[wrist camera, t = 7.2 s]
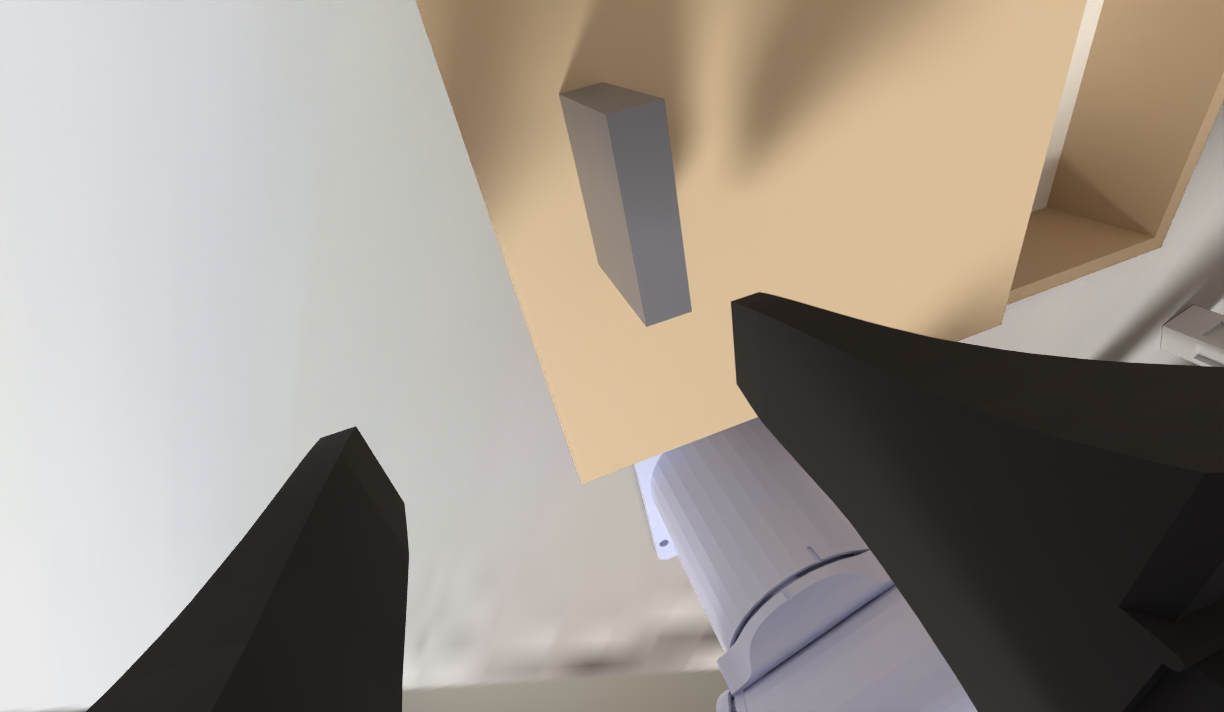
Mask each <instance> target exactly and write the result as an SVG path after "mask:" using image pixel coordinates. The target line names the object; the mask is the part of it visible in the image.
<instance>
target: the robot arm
mask: <svg viewBox="0 0 1224 712" xmlns="http://www.w3.org/2000/svg"><path fill="white" fill-rule="evenodd" d="M731 312H732V327H733V341H734V355H735V369H736V384H737V386H738V387H739V389H740V390H741V392H742V393H743V395H744V396H745V398H746V400H747V401H748V403H749V404H750V406H751V407H752V409H753V410H754V411H755V413H756V414H757V416H758V417H757V418H754V419H751V420H749V421H746V422H743V423H741V424H738V425H736V426H733V427H730V428H728V429H725V430H722V431H720V432H717V433H715V434H712V435H709V436H707V437H704V438H701V439H699V440H696V441H693V442H691V443H688V444H686V445H683V446H680V447H678V448H675V449H672V450H670V451H667V452H665V453H662V454H659V455H657V456H654V457H651V458H649V459H646V460H643V461H641V462H638V463H636V464H634V467H635V471H636V475H637V479H638V483H639V487H640V491H641V495H642V499H643V503H644V507H645V511H646V515H647V519H648V523H649V527H650V531H651V535H652V539H653V543H654V547H655V551H656V554H657V556H658V558H659V559H661V560H666V559H669V558H672V557H674V556H678V558H679V560H680V562H681V564H682V566H683V568H684V570H685V572H686V574H687V576H688V579H689V581H690V583H691V585H692V587H693V589H694V591H695V593H696V595H697V597H698V599H699V601H700V603H701V605H702V607H703V609H704V611H705V613H706V615H707V618H708V620H709V622H710V624H711V626H712V628H713V630H714V632H715V634H716V636H717V638H718V640H719V642H720V644H721V646H722V647H723V649H724V651H725V652H726V653H725V654H724V655H723V656H721V657H720V658H719V659H718V660H717V664H718V666H719V668H720V670H721V672H722V674H723V677H724V679H725V681H726V683H727V685H728V687H729V689H728V690H726V691H725V692H723V693H722V694H721V695H720V696H719V698H718V701H717V706H716V712H1224V367H1213V366H1186V365H1165V364H1145V363H1127V362H1114V361H1100V360H1088V359H1078V358H1069V357H1059V356H1050V355H1040V354H1031V353H1024V352H1016V351H1009V350H1002V349H996V348H990V347H984V346H978V345H972V344H966V343H960V342H954V341H949V340H944V339H939V338H934V337H929V336H925V335H920V334H916V333H912V332H908V331H903V330H899V329H895V328H890V327H887V326H883V325H879V324H875V323H871V322H867V321H864V320H860V319H857V318H853V317H849V316H846V315H842V314H839V313H835V312H832V311H829V310H825V309H822V308H818V307H815V306H811V305H808V304H805V303H801V302H798V301H794V300H791V299H787V298H783V297H780V296H776V295H772V294H767V293H762V292H758V293H755V294H752V295H749V296H746V297H743V298H740V299H737V300H734V301H731ZM408 564H409V549H408V536H407V525H406V515H405V506H404V502H403V500H402V499H401V497H400V496H399V494H398V492H397V491H396V489H395V488H394V486H393V484H392V483H391V481H390V480H389V478H388V477H387V475H386V473H385V472H384V470H383V469H382V467H381V465H380V464H379V462H378V461H377V459H376V457H375V456H374V454H373V453H372V451H371V449H370V448H369V446H368V445H367V443H366V441H365V440H364V438H363V437H362V435H361V433H360V432H359V430H358V429H357V427H353V428H350V429H347V430H344V431H341V432H338V433H335V434H332V435H329V436H326V437H323V438H320V439H319V441H318V442H317V443H316V444H315V445H314V446H313V447H312V449H311V450H310V451H309V452H308V454H307V455H306V456H305V457H304V459H303V460H302V461H301V463H300V464H299V465H298V467H297V468H296V469H295V471H294V472H293V473H292V475H291V476H290V477H289V478H288V480H287V481H286V482H285V484H284V485H283V487H282V488H281V489H280V491H279V492H278V493H277V494H276V496H275V497H274V498H273V500H272V501H271V502H270V504H269V505H268V506H267V508H266V509H265V510H264V512H263V513H262V514H261V515H260V517H259V518H258V519H257V521H256V522H255V523H254V525H253V526H252V527H251V529H250V530H249V531H248V533H247V534H246V535H245V536H244V538H243V539H242V540H241V541H240V543H239V544H238V545H237V546H236V547H235V549H234V550H233V551H232V552H231V554H230V555H229V556H228V557H227V558H226V560H225V561H224V562H223V563H222V564H221V566H220V567H219V568H218V569H217V571H216V572H215V573H214V574H213V575H212V577H211V578H210V579H209V580H208V581H207V583H206V584H205V585H204V586H203V588H202V589H201V590H200V591H199V592H198V594H197V595H196V596H195V597H194V598H193V600H192V601H191V602H190V603H189V604H188V605H187V606H186V608H185V609H184V610H183V611H182V612H181V613H180V614H179V616H178V617H177V618H176V619H175V620H174V621H173V622H172V623H171V624H170V626H169V627H168V628H167V629H166V630H165V631H164V632H163V633H162V634H161V636H160V637H159V638H158V639H157V640H156V641H155V642H154V643H153V644H152V645H151V646H150V647H149V648H148V649H147V650H146V651H145V652H144V654H143V655H142V656H141V657H140V658H139V659H138V660H137V661H136V662H135V663H134V664H133V665H132V666H131V667H130V668H129V669H128V670H127V671H126V673H125V674H124V675H123V676H122V677H121V678H120V679H119V680H118V681H117V682H116V683H115V684H114V685H113V686H112V687H111V688H110V689H109V690H108V691H107V692H106V693H105V694H104V695H103V696H102V697H101V698H100V699H99V700H98V701H97V702H96V703H94V704H93V705H92V706H91V707H90V708H89V709H88V710H87V711H86V712H402V677H403V659H404V641H405V623H406V606H407V586H408Z"/></svg>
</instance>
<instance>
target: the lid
mask: <svg viewBox="0 0 1224 712" xmlns="http://www.w3.org/2000/svg"><path fill="white" fill-rule="evenodd" d="M1086 2H1087V0H416V3H417V6H418V9H419V12H420V15H421V18H422V21H423V24H424V27H425V30H426V32H427V35H428V38H429V41H430V44H431V47H432V50H433V53H434V56H435V59H436V62H437V65H438V67H439V70H440V73H441V76H442V79H443V82H444V85H445V88H446V91H447V94H448V97H449V100H450V103H451V105H452V108H453V111H454V114H455V117H456V120H457V123H458V126H459V129H460V132H461V135H462V138H463V140H464V143H465V146H466V149H467V152H468V155H469V158H470V161H471V164H472V167H473V170H474V173H475V175H476V178H477V181H478V184H479V187H480V190H481V193H482V196H483V199H484V202H485V205H486V208H487V210H488V213H489V216H490V219H491V222H492V225H493V228H494V231H495V234H496V237H497V240H498V243H499V245H500V248H501V251H502V254H503V257H504V260H505V263H506V266H507V269H508V272H509V275H510V278H511V280H512V283H513V286H514V289H515V292H516V295H517V298H518V301H519V304H520V307H521V310H522V313H523V315H524V318H525V321H526V324H527V327H528V330H529V333H530V336H531V339H532V342H533V345H534V348H535V350H536V353H537V356H538V359H539V362H540V365H541V368H542V371H543V374H544V377H545V380H546V383H547V385H548V388H549V391H550V394H551V397H552V400H553V403H554V406H555V409H556V412H557V415H558V418H559V420H560V423H561V426H562V429H563V432H564V435H565V438H566V441H567V444H568V447H569V450H570V453H571V455H572V458H573V461H574V464H575V467H576V470H577V473H578V476H579V479H580V481H581V484H583V483H586V482H588V481H591V480H593V479H596V478H599V477H601V476H604V475H607V474H609V473H612V472H615V471H617V470H620V469H622V468H625V467H628V466H630V465H633V464H636V463H638V462H641V461H643V460H646V459H649V458H651V457H654V456H657V455H659V454H662V453H665V452H667V451H670V450H672V449H675V448H678V447H680V446H683V445H686V444H688V443H691V442H693V441H696V440H699V439H701V438H704V437H707V436H709V435H712V434H715V433H717V432H720V431H722V430H725V429H728V428H730V427H733V426H736V425H738V424H741V423H743V422H746V421H749V420H751V419H754V418H757V417H758V416H757V414H756V413H755V411H754V410H753V409H752V407H751V406H750V404H749V403H748V401H747V400H746V398H745V396H744V395H743V393H742V392H741V390H740V389H739V387H738V386H737V384H736V369H735V355H734V341H733V327H732V312H731V301H734V300H737V299H740V298H743V297H746V296H749V295H752V294H755V293H758V292H762V293H767V294H772V295H776V296H780V297H783V298H787V299H791V300H794V301H798V302H801V303H805V304H808V305H811V306H815V307H818V308H822V309H825V310H829V311H832V312H835V313H839V314H842V315H846V316H849V317H853V318H857V319H860V320H864V321H867V322H871V323H875V324H879V325H883V326H887V327H890V328H895V329H899V330H903V331H908V332H912V333H916V334H920V335H925V336H929V337H934V338H939V339H944V340H949V341H954V342H957V341H959V340H962V339H965V338H967V337H970V336H972V335H975V334H978V333H980V332H983V331H986V330H988V329H991V328H994V327H996V326H999V325H1001V324H1002V320H1003V316H1004V312H1005V309H1006V305H1007V301H1008V297H1009V293H1010V290H1011V286H1012V282H1013V278H1014V275H1015V271H1016V267H1017V263H1018V259H1019V256H1020V252H1021V248H1022V244H1023V240H1024V237H1025V233H1026V229H1027V225H1028V222H1029V218H1030V214H1031V210H1032V206H1033V203H1034V199H1035V195H1036V191H1037V187H1038V184H1039V180H1040V176H1041V172H1042V169H1043V165H1044V161H1045V157H1046V153H1047V150H1048V146H1049V142H1050V138H1051V135H1052V131H1053V127H1054V123H1055V119H1056V116H1057V112H1058V108H1059V104H1060V100H1061V97H1062V93H1063V89H1064V85H1065V82H1066V78H1067V74H1068V70H1069V66H1070V63H1071V59H1072V55H1073V51H1074V48H1075V44H1076V40H1077V36H1078V32H1079V29H1080V25H1081V21H1082V17H1083V13H1084V10H1085V6H1086Z"/></svg>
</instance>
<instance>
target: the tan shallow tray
mask: <svg viewBox="0 0 1224 712" xmlns="http://www.w3.org/2000/svg"><path fill="white" fill-rule="evenodd" d="M1223 101H1224V0H1087V2H1086V6H1085V10H1084V13H1083V17H1082V21H1081V25H1080V29H1079V32H1078V36H1077V40H1076V44H1075V48H1074V51H1073V55H1072V59H1071V63H1070V66H1069V70H1068V74H1067V78H1066V82H1065V85H1064V89H1063V93H1062V97H1061V100H1060V104H1059V108H1058V112H1057V116H1056V119H1055V123H1054V127H1053V131H1052V135H1051V138H1050V142H1049V146H1048V150H1047V153H1046V157H1045V161H1044V165H1043V169H1042V172H1041V176H1040V180H1039V184H1038V187H1037V191H1036V195H1035V199H1034V203H1033V206H1032V210H1031V214H1030V218H1029V222H1028V225H1027V229H1026V233H1025V237H1024V240H1023V244H1022V248H1021V252H1020V256H1019V259H1018V263H1017V267H1016V271H1015V275H1014V278H1013V282H1012V286H1011V290H1010V293H1009V297H1008V301H1007V305H1008V304H1011V303H1013V302H1016V301H1019V300H1021V299H1024V298H1027V297H1029V296H1032V295H1035V294H1037V293H1040V292H1043V291H1045V290H1048V289H1051V288H1053V287H1056V286H1059V285H1061V284H1064V283H1067V282H1069V281H1072V280H1075V279H1077V278H1080V277H1083V276H1085V275H1088V274H1091V273H1093V272H1096V271H1099V270H1101V269H1104V268H1107V267H1109V266H1112V265H1115V264H1117V263H1120V262H1123V261H1125V260H1128V259H1131V258H1133V257H1136V256H1139V255H1141V254H1144V253H1147V252H1149V251H1152V250H1155V249H1157V248H1160V247H1161V246H1162V244H1163V241H1164V239H1165V237H1166V234H1167V232H1168V230H1169V227H1170V225H1171V223H1172V220H1173V218H1174V216H1175V213H1176V211H1177V209H1178V206H1179V204H1180V202H1181V199H1182V197H1183V195H1184V192H1185V190H1186V187H1187V185H1188V183H1189V180H1190V178H1191V176H1192V173H1193V171H1194V169H1195V166H1196V164H1197V162H1198V159H1199V157H1200V155H1201V152H1202V150H1203V148H1204V145H1205V143H1206V141H1207V138H1208V136H1209V134H1210V131H1211V129H1212V127H1213V124H1214V122H1215V119H1216V117H1217V115H1218V112H1219V110H1220V108H1221V105H1222V103H1223Z"/></svg>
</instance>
